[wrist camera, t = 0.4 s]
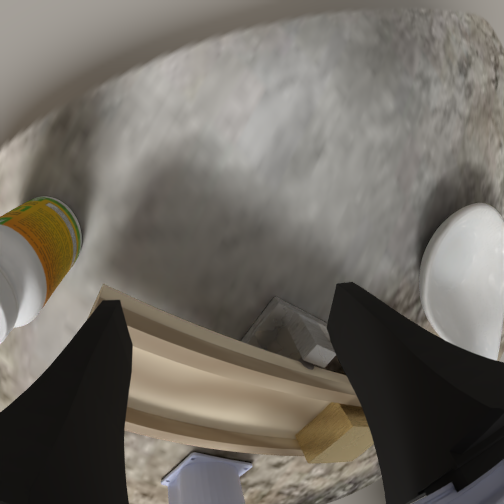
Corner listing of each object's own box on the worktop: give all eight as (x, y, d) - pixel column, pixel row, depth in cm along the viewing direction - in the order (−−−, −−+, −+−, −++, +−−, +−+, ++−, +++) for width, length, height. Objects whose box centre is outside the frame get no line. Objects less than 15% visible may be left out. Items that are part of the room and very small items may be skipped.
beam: (344, 435, 29) (355, 455, 26) (65, 373, 16) (58, 408, 14) (397, 384, 27) (412, 404, 24) (105, 276, 15) (96, 309, 12)
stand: (249, 415, 27) (259, 452, 23) (194, 398, 25) (197, 439, 21) (331, 325, 24) (356, 360, 20) (275, 295, 22) (294, 333, 18)
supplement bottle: (51, 177, 16) (-41, 221, 7) (99, 242, 18) (42, 329, 10) (5, 227, 16) (-78, 291, 8) (50, 284, 19) (-10, 374, 10)
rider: (338, 438, 25) (352, 461, 22) (294, 435, 22) (308, 463, 20) (375, 404, 24) (391, 427, 21) (335, 397, 21) (353, 426, 19)
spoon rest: (387, 230, 23) (448, 267, 16) (476, 175, 23) (535, 194, 16) (414, 390, 32) (444, 428, 26) (479, 339, 32) (511, 369, 26)
